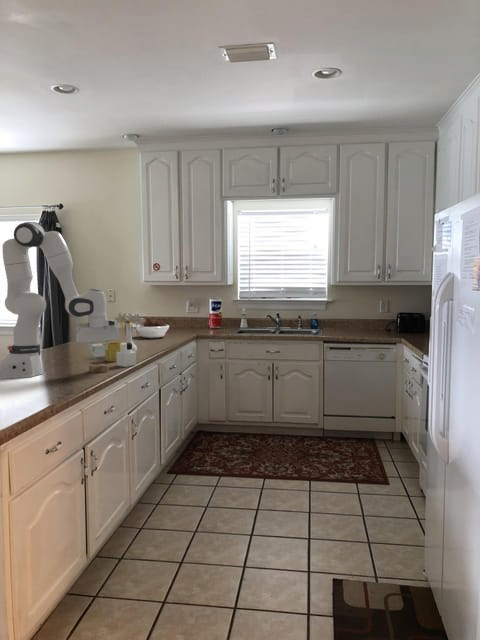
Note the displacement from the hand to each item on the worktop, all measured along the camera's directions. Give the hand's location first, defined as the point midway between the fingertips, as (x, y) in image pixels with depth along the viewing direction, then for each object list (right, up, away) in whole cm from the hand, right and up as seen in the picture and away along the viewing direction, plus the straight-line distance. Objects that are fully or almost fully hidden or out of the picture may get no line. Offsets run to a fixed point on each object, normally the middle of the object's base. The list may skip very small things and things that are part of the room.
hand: (98, 350), depth 249 cm
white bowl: (+3, +1, +138) cm, 138 cm away
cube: (-1, -2, +2) cm, 3 cm away
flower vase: (+3, -6, +56) cm, 56 cm away
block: (-1, -10, +1) cm, 10 cm away
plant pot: (-2, -8, +33) cm, 34 cm away
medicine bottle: (+10, -9, +18) cm, 22 cm away
